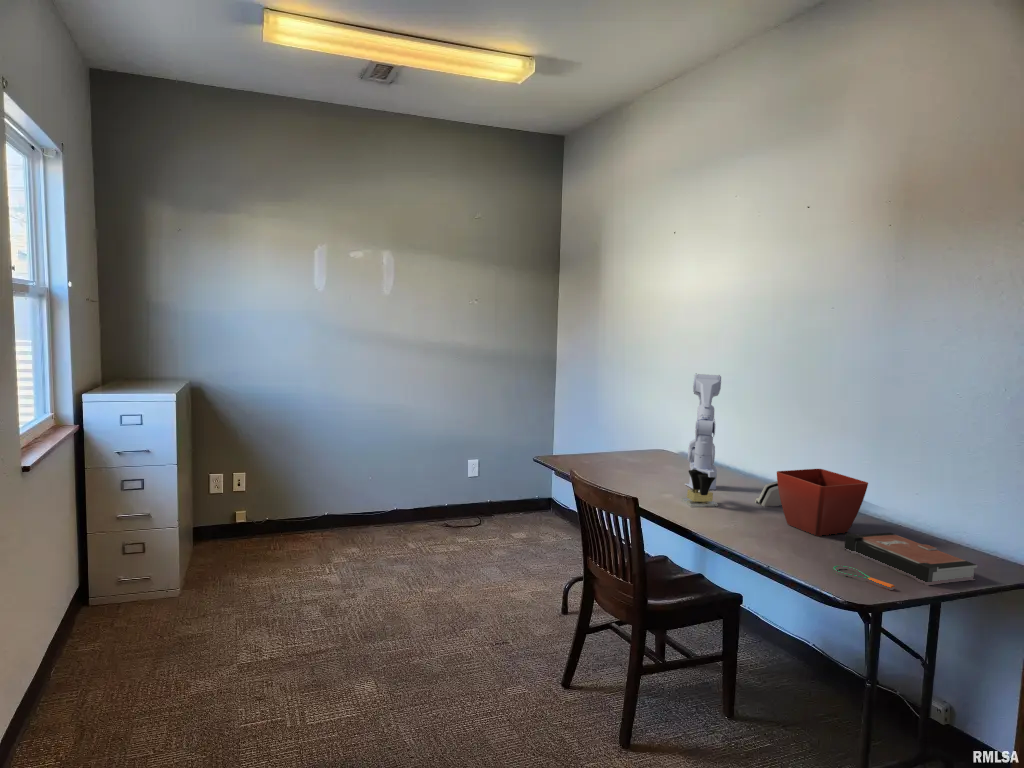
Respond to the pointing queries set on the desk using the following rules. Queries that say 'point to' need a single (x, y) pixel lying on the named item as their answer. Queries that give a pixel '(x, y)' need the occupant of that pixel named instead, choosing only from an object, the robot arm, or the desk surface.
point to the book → (910, 556)
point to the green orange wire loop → (869, 578)
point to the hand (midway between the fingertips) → (700, 492)
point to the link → (699, 496)
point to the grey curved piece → (770, 495)
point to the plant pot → (820, 500)
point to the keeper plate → (699, 503)
